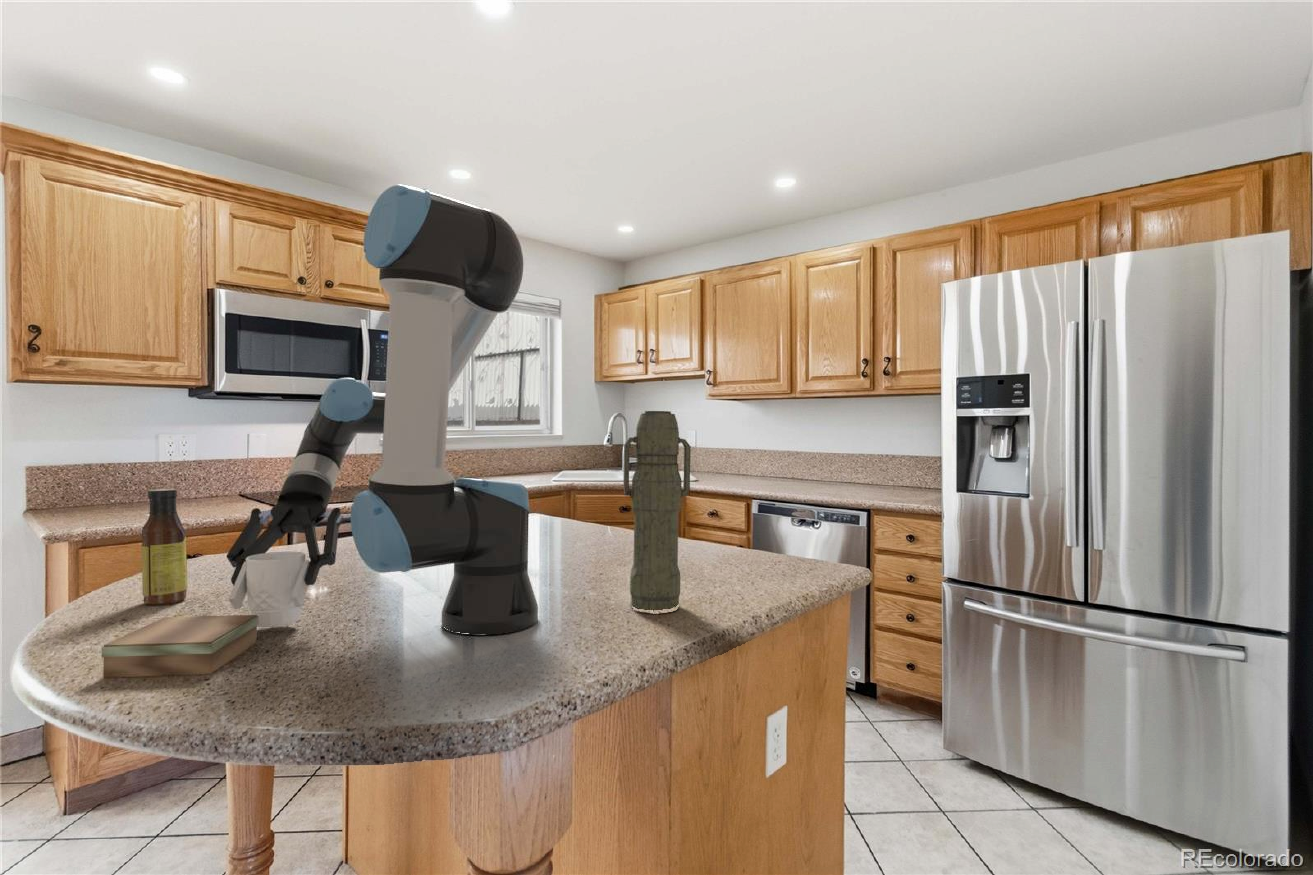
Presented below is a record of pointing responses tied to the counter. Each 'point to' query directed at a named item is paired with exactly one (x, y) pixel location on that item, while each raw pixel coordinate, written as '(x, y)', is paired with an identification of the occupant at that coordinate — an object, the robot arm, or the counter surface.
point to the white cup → (273, 587)
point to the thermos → (656, 509)
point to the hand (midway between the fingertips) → (265, 603)
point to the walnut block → (180, 646)
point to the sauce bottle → (163, 551)
